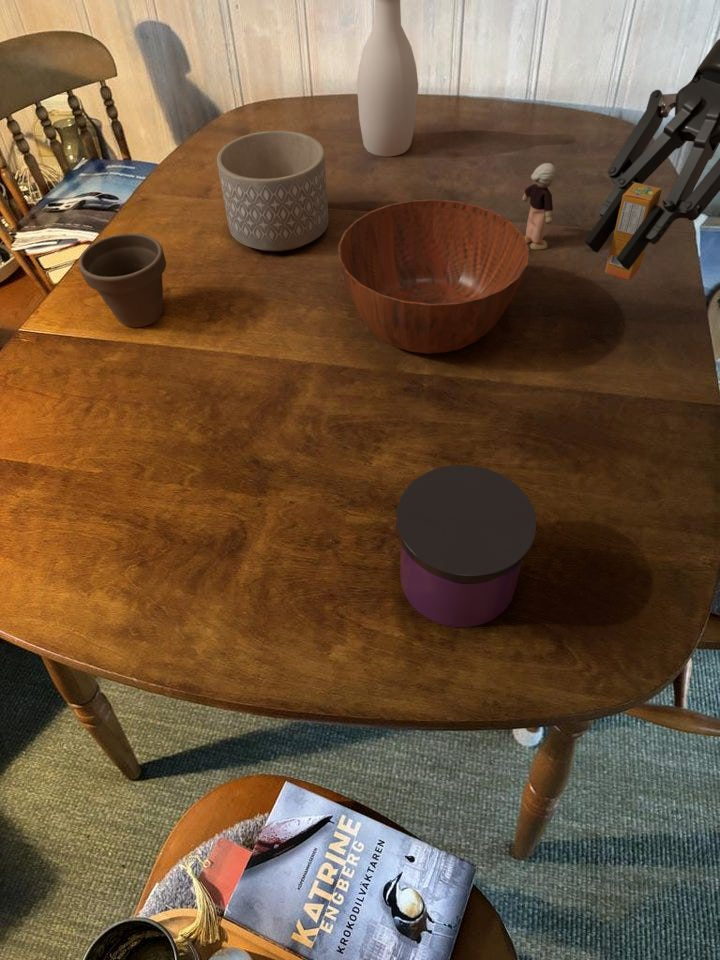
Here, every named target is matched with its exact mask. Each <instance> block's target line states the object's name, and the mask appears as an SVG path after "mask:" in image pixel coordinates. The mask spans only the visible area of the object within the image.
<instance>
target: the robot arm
mask: <svg viewBox="0 0 720 960" xmlns="http://www.w3.org/2000/svg"><path fill="white" fill-rule="evenodd" d="M646 105H647V106H646V108H645V111H644V113H643V114H642V116H641V118H639V121H638V122H637V124H636V125H635V127H634V128H633V130H632V131H631V133H630V135H629V136H628V138H627V139H626V141H625V142H624V143H623V145H622V147H621V149H620V150H619V151H618V153H617V155H616V157H615V158H614V159H613V161H612V163H611V164H610V166H609V168H607V175H608V176H609V179H610V180H611V182H612V183H613V184H614V187H613V190H612V191H611V193H610V194H609V195H608V197H607V198H606V199H605V201H604V202H603V203H602V205H601V207H600V208H599V211H598V214H599V216H600V219H599V220H598V221H597V223H596V225H594V227H593V228H592V230H591V231H590V232H589V234H588V236H587V237H586V238H585V240H584V242H585V244H586V245H588V247H589V248H590V249H591V250H592V251H593V252H595V253H596V254H598V253H599V252H600V250H601V249H602V248H603V247H604V244H605V243H606V242H607V240H608V239H609V237H611V236H612V234H613V233H614V231H615V227H616V222H617V218H618V214H619V210H620V206H621V201H622V197H623V194H624V193H625V192H626V191H627V190H628V189H629V188H630V187H631V186H632V185H633V184H634V183H640V184H644V182H646V180H647V179H648V178H650V176H652V175H653V173H654V172H655V171H657V169H658V168H659V167H660V166H661V165H663V163H664V162H665V161H666V160H667V159H668V158H669V157H670V156H671V155H672V154H673V153H674V152H675V150H678V149H681V148H682V147H683V145H685V143H686V142H693V146H692V149H691V150H690V152H689V155H688V156H687V158H686V160H685V162H684V164H683V166H682V168H681V170H680V172H679V174H678V176H677V177H676V180H675V182H674V183H673V186H672V187H671V189H670V191H669V193H668V195H667V197H666V199H665V200H664V199H662V202H661V203H662V206H663V208H662V207H661V206H659V205H658V206H657V205H654V207H653V208H652V210H651V211H650V212H649V214H648V215H647V216H646V218H645V219H644V221H643V222H642V223H641V225H640V226H639V227H638V229H637V230H636V232H635V233H634V234H633V236H632V237H631V238H630V240H629V241H628V243H627V244H626V245H625V247H624V248H623V249H622V251H621V252H620V254H619V255H618V256H617V260H618V261H619V262H620V263H621V265H622V266H623V267H624V268H626V269H628V270H629V269H630V268H631V266H632V265H633V264H634V262H635V261H636V259H637V258H638V257H639V255H640V254H641V253H642V251H643V250H644V249H645V247H646V248H647V246H648V245H649V243H650V244H652V245H656V244H657V243H658V242H660V240H661V239H662V238H663V236H664V235H665V233H666V232H667V231H668V230H669V228H670V227H671V226H672V224H673V223H674V222H675V221H676V220H678V219H688V221H695V220H697V219H698V218H699V217H700V216H701V215H702V213H703V212H704V211H705V210H706V209H707V208H708V206H709V205H710V204H711V203H712V201H713V200H714V199H715V198H716V196H717V195H718V193H719V192H720V157H719V158H718V160H716V162H715V163H714V165H713V166H712V167H711V168H710V169H709V171H707V173H706V174H705V175H704V177H703V178H702V179H701V181H700V182H699V180H700V178H701V176H702V174H703V172H704V171H705V168H706V167H707V164H708V163H709V161H710V160H712V159H713V157H714V156H715V153H716V151H717V149H718V147H719V145H720V38H718V39H717V41H716V42H714V44H713V46H712V47H711V48H710V50H709V51H708V53H707V54H706V56H705V57H704V59H703V60H702V61H701V63H700V64H699V66H698V67H697V69H696V71H695V73H694V75H693V77H692V79H691V80H690V81H689V82H688V83H687V84H686V85H685V86H683V87H681V88H680V89H679V90H678V91H677V93H665V94H663V93H662V91H661V90H660V89H654V90H653V91H652V92H651V93H650V95H649V98H648V102H647V104H646ZM673 109H674V116H673V117H672V118H671V119H670V120H669V121H668V122H667V123H666V125H665V126H664V128H663V130H662V132H661V133H660V134H659V136H657V138H656V139H655V140H653V142H652V143H651V144H650V142H651V141H652V139H653V138H654V136H655V135H656V133H657V132H658V130H659V128H660V127H661V125H662V123H663V120H664V119H667V118H668V117H669V115H670V113H671V111H672V110H673ZM649 144H650V145H649ZM645 250H646V249H645Z"/></svg>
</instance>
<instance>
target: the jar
mask: <svg viewBox="0 0 720 960" xmlns="http://www.w3.org/2000/svg"><path fill="white" fill-rule="evenodd" d="M537 524H538V523H537V516H536V513H535V508H534V506H533V505H532V502H531V500H530V499H529V497H528V496H527V494H526V493H525V492H524V491H523V490H522V489H521V487H520V486H518V485H517V484H516V482H514V481H512V480H511V479H510V478H508V477H506V476H504V475H503V474H502V473H499V472H497V471H495V470H492V469H488V468H485V467H481V466H476V465H469V464H456V465H455V464H454V465H447V466H446V465H445V466H441V467H437V468H434V469H432V470H429V471H427V472H425V473H423V474H421V475H419V476H418V477H417V478H415V479H414V480H413V481H411V483H410V484H409V485H408V486H407V487H406V488H405V490H404V491H403V492H402V494H401V495H400V498H399V500H398V503H397V507H396V516H395V526H396V533H397V538H398V540H399V542H400V557H399V559H400V561H399V563H400V564H399V579H400V586H401V589H402V592H403V594H404V596H405V598H406V599H407V601H408V603H409V604H410V605H411V606H412V608H414V609H415V610H416V612H418V613H419V614H420V615H422V616H423V617H424V618H426V619H428V620H430V621H432V622H434V623H437V624H439V625H442V626H446V627H452V628H472V627H477V626H481V625H484V624H486V623H488V622H490V621H493V620H494V619H496V618H497V617H499V616H500V615H501V614H502V613H503V612H505V610H506V609H507V608H508V607H509V605H510V604H511V602H512V600H513V598H514V596H515V592H516V588H517V584H518V580H519V577H520V574H521V573H520V572H521V569H522V565H523V562H524V561H525V560H526V559H527V558H528V555H529V554H530V552H531V550H532V548H533V545H534V542H535V538H536V533H537Z"/></svg>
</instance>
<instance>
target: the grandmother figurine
mask: <svg viewBox="0 0 720 960" xmlns="http://www.w3.org/2000/svg"><path fill="white" fill-rule="evenodd" d="M555 173H556V168H555V166H554V165H553V164H552V163H550V162H546V163H545V162H544V163H542V164H540V165H539V166H537V167H536V168H535V170H533V173H532V174H531V175H530V179H531V180H532V181H535V183H533V184H531V185H529V186H528V187H526V188H525V189H524V193H523V196H522V201H523V202H525V203H526V202H528V201H529V205H530V209H529V212H528V218H527V223H526V229H525V235H524V237H525V240H526V242H527V244H530V245H529V247H530V249H531V250H535V251H537V250H546V249H547V248H548V242H547V241H546V240H544V237H545V235H546V224H551V223H552V222H553V210H554V205H553V193H551V191H550V190H549V187H550V186H551V185H552V184H553V182H554V176H555Z"/></svg>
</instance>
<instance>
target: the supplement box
mask: <svg viewBox="0 0 720 960" xmlns="http://www.w3.org/2000/svg"><path fill="white" fill-rule="evenodd" d="M661 195H662V188H661V187H656V186H653V185H649V184H645V183H642V184H640V183H634V184H633V185H632V186H631V187H630V188H629V189H628V190H627V191H626V192H625V193H624V194H623V197H622V201H621V206H620V210H619V214H618V218H617V222H616V227H615V229H614V231H613V237H612V240H611V245H610V249H609V253H608V257H607V261H606V265H605V270H604V274H606V275H608V276H611V277H614V278H618V279H621V280H624V281H629V282H630V281H631V280H632V278H633V277H634V276H635V275H636V273H637V272H638V271H639V270H640V268H641V265H642V263H643V259H644V256H645V252H646V249H647V246H646V247H645V249H644V250H643V251H642V253H641V254H640V255H639V257H638V258H637V259H636V261H635V262H634V264H633V265H632V266H631V268H630V269H629V270H628V269H626V268H624V267H623V266H622V265H621V263H620V262H619V261H618V260H617V256H618V255H619V254H620V252H621V251H622V249H623V248H624V247H625V245H626V244H627V243H628V241H629V240H630V238H631V237H632V236H633V234H634V233H635V232H636V230H637V229H638V227H639V226H640V225H641V223H642V222H643V221H644V219H645V218H646V216H647V215H648V214H649V212H650V211H651V210H652V208H653V207H654V205H657V206H659V202H660V199H661Z"/></svg>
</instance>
